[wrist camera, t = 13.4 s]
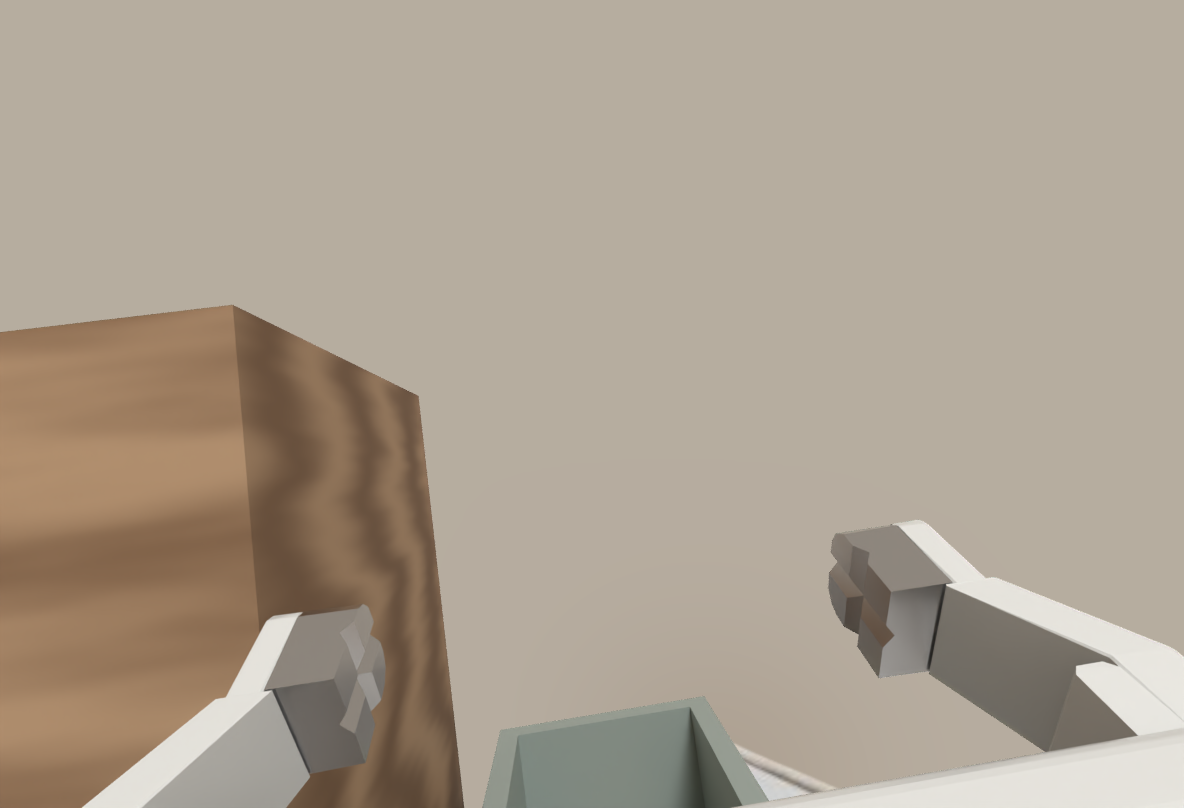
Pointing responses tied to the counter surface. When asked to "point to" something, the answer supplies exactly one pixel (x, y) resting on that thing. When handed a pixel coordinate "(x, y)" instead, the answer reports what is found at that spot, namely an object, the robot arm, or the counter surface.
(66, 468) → the stand
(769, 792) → the counter surface
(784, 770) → the counter surface
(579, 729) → the bin
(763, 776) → the counter surface
